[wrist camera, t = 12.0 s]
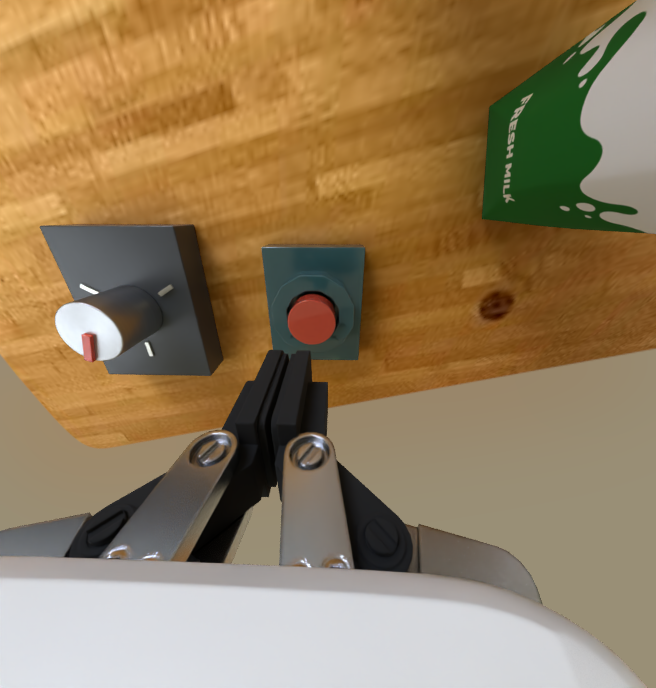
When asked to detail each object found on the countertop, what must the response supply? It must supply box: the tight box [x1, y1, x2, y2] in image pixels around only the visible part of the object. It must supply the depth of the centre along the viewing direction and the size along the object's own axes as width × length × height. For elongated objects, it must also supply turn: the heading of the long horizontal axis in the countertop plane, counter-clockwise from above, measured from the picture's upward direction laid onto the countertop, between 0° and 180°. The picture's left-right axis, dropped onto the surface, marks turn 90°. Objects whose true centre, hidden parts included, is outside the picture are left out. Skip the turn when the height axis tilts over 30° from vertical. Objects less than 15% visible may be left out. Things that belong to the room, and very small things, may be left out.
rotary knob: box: [55, 285, 162, 362], centre depth 19 cm, size 4×4×5 cm
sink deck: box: [40, 224, 223, 376], centre depth 23 cm, size 13×10×3 cm
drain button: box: [288, 294, 336, 345], centre depth 20 cm, size 4×4×2 cm
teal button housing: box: [262, 244, 365, 360], centre depth 22 cm, size 10×8×4 cm
